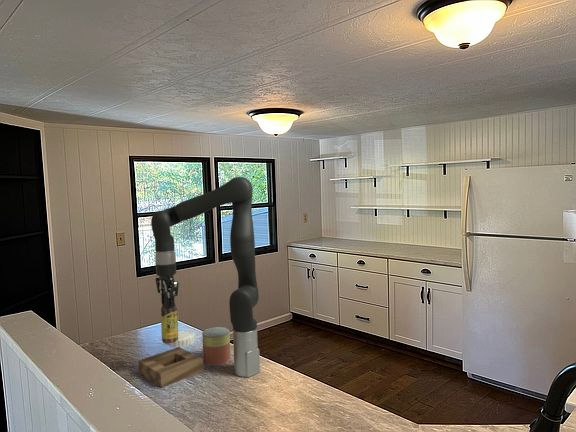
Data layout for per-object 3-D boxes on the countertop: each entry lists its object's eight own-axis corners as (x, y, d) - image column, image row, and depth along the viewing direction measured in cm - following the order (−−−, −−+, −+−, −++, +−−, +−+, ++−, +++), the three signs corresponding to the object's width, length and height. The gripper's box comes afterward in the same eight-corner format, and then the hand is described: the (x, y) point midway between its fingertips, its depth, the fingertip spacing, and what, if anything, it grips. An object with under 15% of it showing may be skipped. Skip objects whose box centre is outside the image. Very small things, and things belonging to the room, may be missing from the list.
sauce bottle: (168, 345, 162) (165, 293, 160) (158, 342, 165) (155, 291, 164) (182, 339, 167) (179, 289, 165) (172, 336, 171) (169, 287, 169)
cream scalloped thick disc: (200, 340, 201) (200, 332, 201) (181, 349, 191) (181, 341, 191) (182, 335, 208) (182, 328, 207) (163, 344, 197) (162, 336, 197)
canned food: (233, 354, 183) (232, 327, 182) (227, 365, 172) (225, 336, 171) (207, 354, 184) (206, 326, 183) (199, 365, 173) (198, 336, 172)
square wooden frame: (203, 371, 167) (203, 358, 167) (161, 387, 155) (160, 374, 154) (179, 358, 180) (178, 346, 180) (138, 372, 168) (137, 360, 167)
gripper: (184, 262, 161) (186, 306, 163) (165, 258, 172) (167, 300, 173) (166, 265, 156) (168, 311, 158) (147, 261, 166) (150, 304, 168)
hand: (168, 305), depth 165 cm, fingers closed on sauce bottle, 4 cm apart
